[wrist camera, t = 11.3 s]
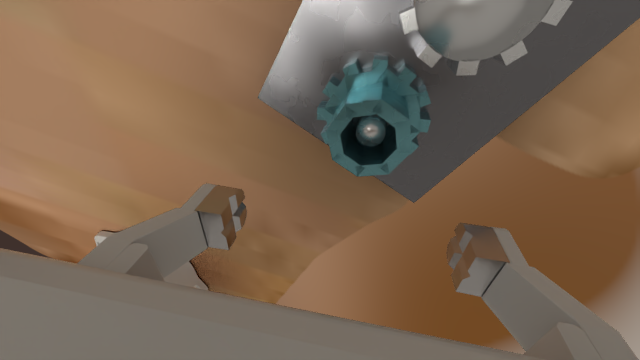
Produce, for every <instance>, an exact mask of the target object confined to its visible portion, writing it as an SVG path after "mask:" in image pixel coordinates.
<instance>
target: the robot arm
mask: <svg viewBox="0 0 640 360" xmlns="http://www.w3.org/2000/svg"><path fill="white" fill-rule="evenodd" d="M244 198H245V196H244V191H243V190H242V189H237V188H232V187H226V186H220V185H213V184H208V183H206V184H203V185H202V186H201V187H200V188H199V189H198V190H197V191H196V192H195V193H194V194H193V196H192V197H191V198H190V199H189V200H188V201H187V202H186V203H185V204H184V205H183V206H182V207H181V208H175V209H173V210H170V211H168V212H166V213H163V214H161V215H158V216H156V217H154V218H151V219H149V220H146V221H144V222H142V223H139V224H137V225H134V226H132V227H130V228H127V229H125V230H122V231H120V232H117V233H112V232H107V231H100V232H99V233H98V234H97V235H96V236H95V242H96V245H97V247H96V248H94V249H93V250H92V251H91V252H90V253H89V254H88V255H86V256H85V257H84V258H83V259H82V260H81V261H80V262H79V263H77V264H76V263H71V262H66V261H61V260H56V259H51V258H46V257H41V256H36V255H31V254H26V253H21V252H16V251H11V250H6V249H2V248H0V360H638V358H637V357H636V355H635V354H634V353H633V351H632V350H631V348H630V347H629V346H628V344H627V343H626V342H625V340H624V339H623V338H622V336H621V334H620V333H619V332H618V331H617V330H615V329H614V328H613V327H611V326H610V325H609V324H608V323H606V322H605V321H604V320H602V319H601V318H600V317H598V316H597V315H596V314H594V313H593V312H592V311H590V310H589V309H588V308H587V307H585V306H584V305H583V304H581V303H580V302H579V301H577V300H576V299H575V298H573V297H572V296H571V295H570V294H568V293H567V292H566V291H564V290H563V289H562V288H560V287H559V286H558V285H556V284H555V283H554V282H553V281H551V280H550V279H548V278H547V277H546V276H544V275H543V274H542V273H541V272H539V271H538V270H537V269H535V268H534V267H529V266H528V264H527V262H526V260H525V259H524V257H523V255H522V254H521V252H520V250H519V248H518V246H517V245H516V243H515V241H514V239H513V238H512V236H511V234H510V232H509V231H508V230H506V229H503V228H495V227H486V226H479V225H472V224H465V223H459V224H458V225H457V226H456V229H455V233H456V236H455V237H453V238H451V239H450V241H449V244H448V246H447V260H448V264H449V265H450V266H451V267H452V268H453V269H454V271H453V273H452V274H451V276H452V280H453V283H454V287H455V290H456V292H461V293H466V294H470V295H475V296H480V297H482V299H483V300H484V301H485V303H486V304H487V305H488V307H489V308H490V309H491V310H492V311H493V312H494V314H495V315H496V316H497V317H498V319H499V320H500V321H501V322H502V323H503V325H504V326H505V327H506V328H507V329H508V331H509V332H510V333H511V334H512V335H513V337H514V338H515V339H516V340H517V341H518V342H519V344H520V345H521V346H522V347H523V349H524V350H525V351H526V352H525V353H524V354H518V353H513V352H508V351H503V350H498V349H493V348H488V347H483V346H479V345H474V344H469V343H464V342H459V341H454V340H449V339H444V338H439V337H434V336H429V335H424V334H419V333H414V332H409V331H404V330H400V329H395V328H390V327H385V326H380V325H374V324H370V323H365V322H360V321H355V320H350V319H345V318H340V317H336V316H330V315H325V314H321V313H316V312H310V311H306V310H301V309H296V308H292V307H287V306H281V305H277V304H272V303H267V302H262V301H257V300H252V299H247V298H243V297H238V296H233V295H228V294H223V293H218V292H213V291H208V287H207V286H206V285H205V284H204V283H203V282H202V281H201V280H200V279H199V277H198V276H197V274H196V272H195V270H194V268H193V266H192V265H191V264H190V262H189V261H190V260H191V259H193V258H194V257H195V256H197V255H198V254H200V253H201V252H203V251H204V250H206V249H207V248H208V247H212V248H219V249H225V250H229V249H230V247H231V245H232V244H233V242H234V240H235V239H236V232H237V231H239V230H240V229H242V227H243V225H244V223H245V220H246V214H247V210H246V206H245V205H244V203H243V202H242V201H243V200H244Z"/></svg>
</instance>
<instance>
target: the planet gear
mask: <svg viewBox="0 0 640 360" xmlns="http://www.w3.org/2000/svg"><path fill="white" fill-rule="evenodd" d="M342 70H343V72H344V75H345V76H344V78H343V79H342V81H339V80H338V79H337V78H335V77H334V76H333V77H332V78H331V79H330V81H329V82H328V84H327V85H326V87H325V88H324V90H323V92H322V93H324V94H325V95H327V96H328V97H329V98H330V99H329V100H328V101H321V103H320V104H319V106H318V107H317V120H325V121H327V125H326V126H324V128H323V130H322V132H321V136H322V138H323V140H324V142H325V144H327V143H329V147H330V151H331V156H332V160H333V161H335V162H336V163H338V164H339V165H341V166H342V167H344V168H345V169H347V170H348V171H350V172H351V173H353V174H354V175H356V176H357V177H358V176H372V175H386V174H390V173H391V172H392V171H393V170H394V169H395V168H396V167H397V166H398V165H399V164H400V163H401V162H402V161H403V160H404V159H405V158H406V157H407V156H408V155H411V154H412V153H413V152H414V151H415V150H416V149H417V148H418V147H419V144H418V139H417V137H416V136H417V135H418V134H419V133H420V132H428V129H429V125H430V122H431V119H430V116H429V113H428V112H420V107H423V106H425V105H428V104H431V102H430V99H429V95H428V92H427V89H426V87H425V84H424V85H422V86H419V87H417V86H415V85H414V84H413V83H411V82H412V81H413V80H414V79H415V78H416V76H417V75H416V72H415V70H414V69H412V68H411V67H410V66H409V65H407V64H406V63H405V62H404V64H403V65H402V66H401V67H400V69H399V70H398V71H396V70H395V69H393V68H392V67H391V66H389V65H388V56H380V55H374V59H373V65H372V67H367V68H362V69H361V66H360V64H359V62H358V59H355V60H353V61H352V62H350V63H348V64H346V65H345V66H344V67H343V69H342ZM375 114H377V115H378V116H380V117H381V118H382V119H384V120H385V121H387V122H388V123H389V126H388V127H387V128H386V131H385V137H384V139H383V141H382V142H381V143H379V144H378V145H375V146H366V145H363V144H362V143H361V142H360V141H359V140H358V139H357V136H356V129H357V126H355V125H354V124H353V123H352V118H353V117H360V116H367V115H375Z"/></svg>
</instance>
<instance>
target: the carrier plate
mask: <svg viewBox="0 0 640 360" xmlns="http://www.w3.org/2000/svg"><path fill="white" fill-rule="evenodd" d="M639 18H640V0H303V1H302V3H301V6H300V8H299V10H298V12H297V14H296V16H295V18H294V21H293V23H292V25H291V27H290V29H289V31H288V33H287V36H286V38H285V40H284V42H283V44H282V46H281V49H280V51H279V53H278V55H277V57H276V59H275V61H274V64H273V66H272V68H271V70H270V72H269V74H268V76H267V79H266V81H265V83H264V85H263V87H262V89H261V91H260V94H259V96H258V98H259V99H260V100H261V101H263V102H264V103H266V104H267V105H269V106H270V107H272V108H273V109H275V110H276V111H278V112H279V113H281V114H282V115H284V116H285V117H287V118H288V119H290V120H291V121H293V122H294V123H296V124H297V125H299V126H300V127H302V128H303V129H305V130H306V131H308V132H309V133H311V134H312V135H314V136H315V137H317V138H318V139H320V140H321V141H322V142H324V140H323V138H322V136H321V132H322V130H323V128H324V126H326V125H327V121H325V120H317V107H318V106H319V104H320V103H321V101H328V100H329V99H330V98H329V97H328V96H327V95H325V94H324V93H322V92H323V90H324V88H325V87H326V85H327V84H328V82H329V81H330V79H331V78H332V77H333V76H334V77H335V78H337V79H338V80H339V81H342V79H343V78H344V76H345V75H344V72H343V70H342V69H343V67H344V66H345V65H346V64H348V63H350V62H352V61H353V60H355V59H358V62H359V64H360V66H361V69H362V68H367V67H372V65H373V59H374V55H380V56H388V65H389V66H391V67H392V68H393V69H395V70H396V71H398V70H399V69H400V67H401V66H402V65H403V64H404V62H405V63H406V64H407V65H409V66H410V67H411V68H412V69H414V70H415V72H416V75H417V76H416V78H415V79H414V80H413V81H412V82H411V83H413V84H414V85H415V86H417V87H419V86H422V85H424V84H425V87H426V89H427V92H428V95H429V99H430V102H431V104H428V105H425V106H423V107H420V112H428V113H429V116H430V119H431V122H430V125H429V129H428V132H420V133H419V134H418V135H417V136H416V137H417V139H418V144H419V147H418V148H417V149H416V150H415V151H414V152H413V153H412V154H411V155H408V156H407V157H406V158H405V159H404V160H403V161H402V162H401V163H400V164H399V165H398V166H397V167H396V168H395V169H394V170H393V171H392V172H391V173H390V174H386V175H373V176H375V177H376V178H378V179H379V180H380V181H382V182H383V183H385V184H386V185H388V186H389V187H391V188H392V189H394V190H395V191H397V192H398V193H400V194H401V195H403V196H404V197H406V198H407V199H409V200H410V201H412V202H413V203H414V202H416V201H417V200H418V199H419V198H421V197H422V196H423V195H424V194H425V193H426V192H428V191H429V190H430V189H431V188H433V187H434V186H435V185H436V184H438V183H439V182H440V181H441V180H442V179H444V178H445V177H446V176H447V175H449V174H450V173H451V172H452V171H453V170H455V169H456V168H457V167H458V166H460V165H461V164H462V163H463V162H464V161H466V160H467V159H468V158H469V157H470V156H472V155H473V154H474V153H475V152H477V151H478V150H479V149H480V148H481V147H483V146H484V145H485V144H486V143H488V142H489V141H490V140H491V139H492V138H494V137H495V136H496V135H497V134H499V133H500V132H501V131H502V130H503V129H505V128H506V127H507V126H508V125H509V124H511V123H512V122H513V121H514V120H516V119H517V118H518V117H519V116H520V115H522V114H523V113H524V112H525V111H527V110H528V109H529V108H530V107H531V106H533V105H534V104H535V103H536V102H538V101H539V100H540V99H541V98H542V97H544V96H545V95H546V94H547V93H548V92H550V91H551V90H552V89H553V88H555V87H556V86H557V85H558V84H559V83H561V82H562V81H563V80H564V79H566V78H567V77H568V76H569V75H570V74H572V73H573V72H574V71H575V70H577V69H578V68H579V67H580V66H581V65H583V64H584V63H585V62H586V61H587V60H589V59H590V58H591V57H592V56H594V55H595V54H596V53H597V52H598V51H600V50H601V49H602V48H603V47H605V46H606V45H607V44H608V43H609V42H611V41H612V40H613V39H614V38H616V37H617V36H618V35H619V34H620V33H622V32H623V31H624V30H625V29H626V28H628V27H629V26H630V25H631V24H633V23H634V22H635V21H636V20H637V19H639ZM352 123H353V124H354V125H355V126H357V129H356V136H357V139H358V140H359V141H360V142H361V143H362V144H363V145H366V146H375V145H378V144H379V143H381V142H382V141H383V139H384V137H385V131H386V128H387V127H388V126H389V123H388V122H387V121H385V120H384V119H382V118H381V117H380V116H378V115H377V114H375V115H367V116H360V117H353V118H352ZM324 143H325V142H324ZM327 145H328V146H329V143H327Z"/></svg>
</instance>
